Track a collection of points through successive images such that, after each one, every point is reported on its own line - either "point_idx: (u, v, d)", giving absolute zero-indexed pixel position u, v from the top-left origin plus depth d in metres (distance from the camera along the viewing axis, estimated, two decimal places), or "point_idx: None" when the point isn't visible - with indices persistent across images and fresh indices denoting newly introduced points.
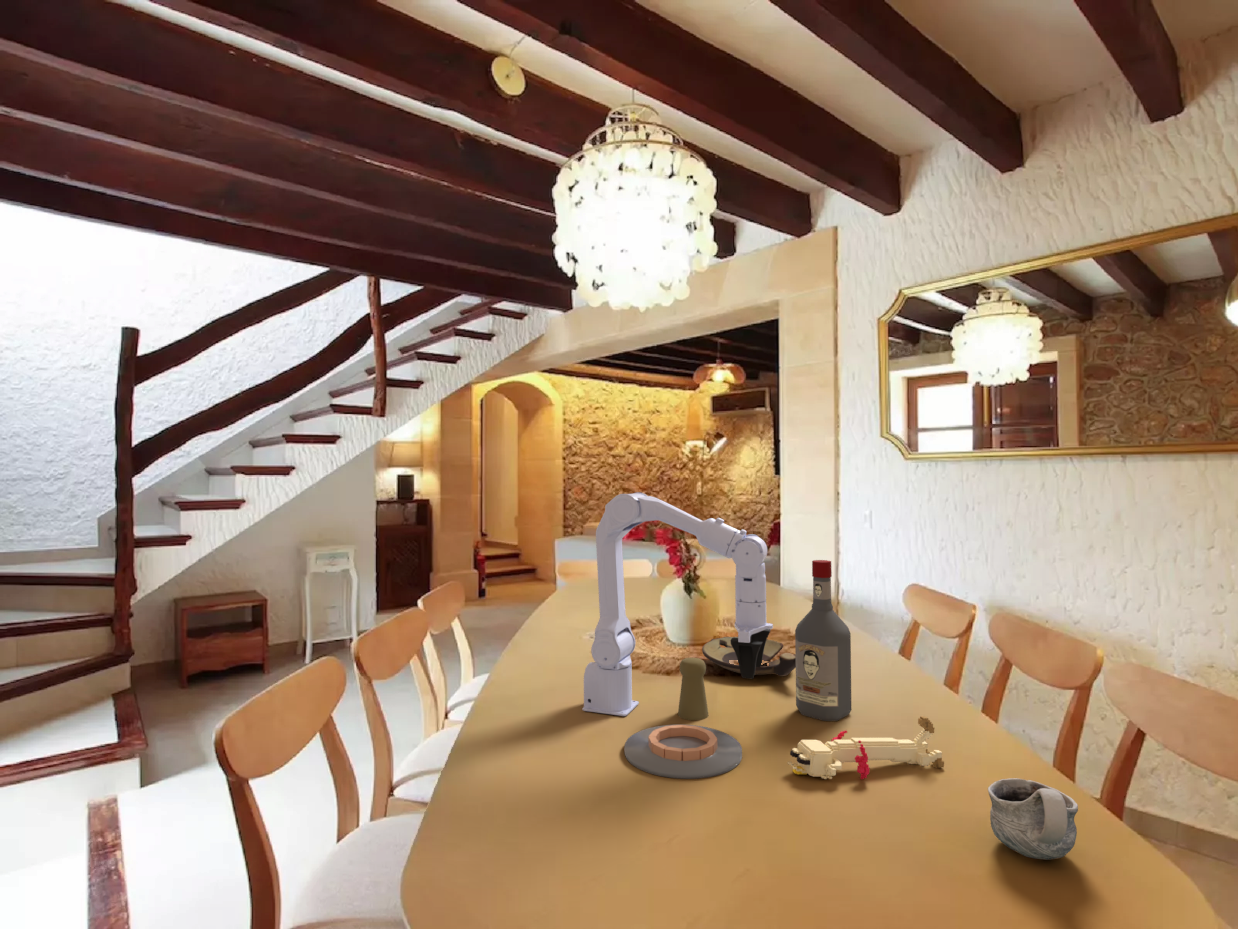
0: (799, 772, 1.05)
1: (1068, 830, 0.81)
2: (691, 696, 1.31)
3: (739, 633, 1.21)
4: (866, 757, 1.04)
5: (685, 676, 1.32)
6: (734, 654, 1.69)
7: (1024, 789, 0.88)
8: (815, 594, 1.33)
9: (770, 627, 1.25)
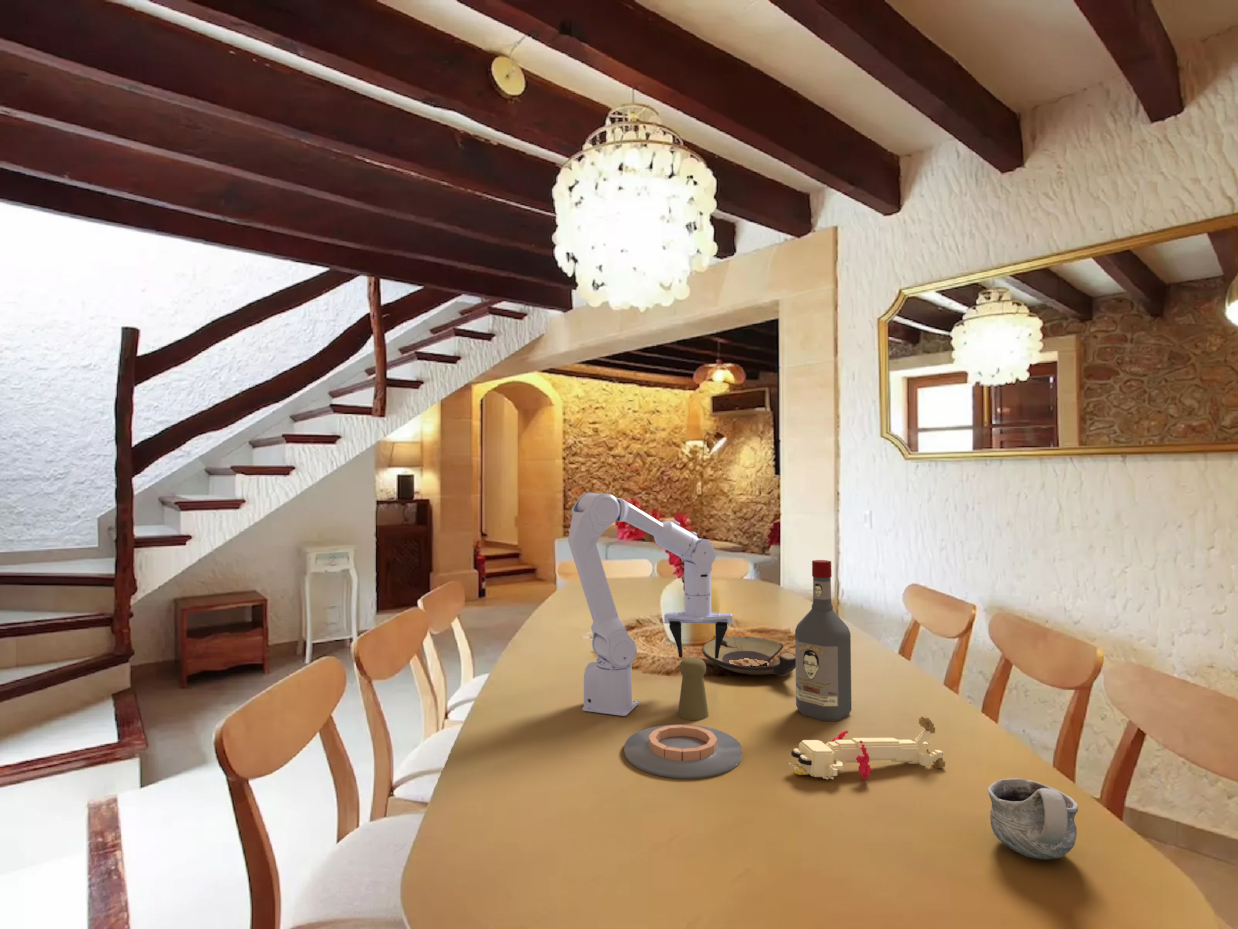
0: (800, 772, 1.05)
1: (1068, 830, 0.81)
2: (691, 695, 1.31)
3: None
4: (867, 757, 1.04)
5: (685, 676, 1.32)
6: (734, 654, 1.69)
7: (1024, 789, 0.88)
8: (815, 594, 1.33)
9: (693, 619, 1.41)
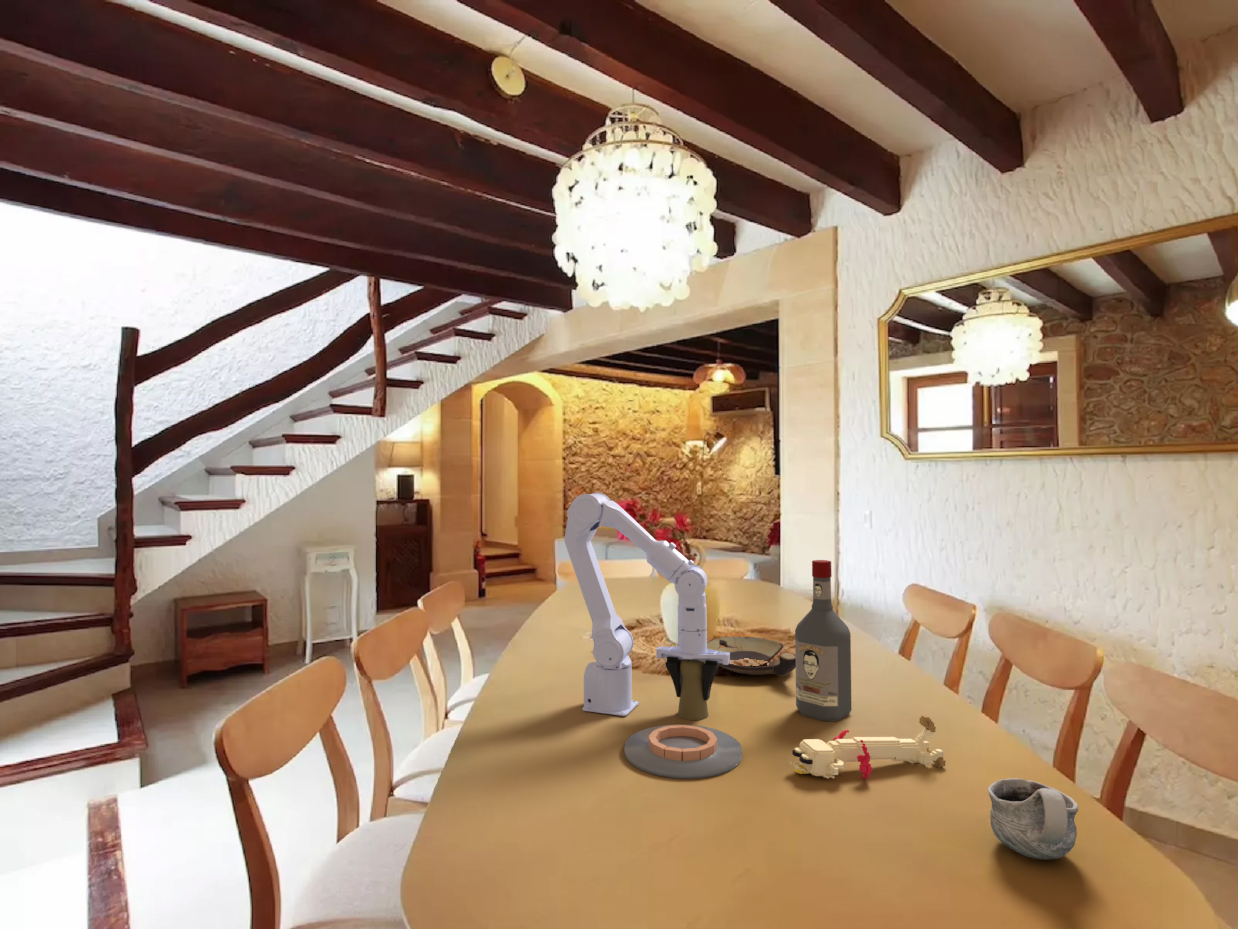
0: (801, 771, 1.06)
1: (1068, 830, 0.81)
2: (691, 695, 1.31)
3: None
4: (868, 756, 1.04)
5: (685, 676, 1.32)
6: (734, 654, 1.69)
7: (1024, 789, 0.88)
8: (815, 594, 1.33)
9: (682, 656, 1.30)
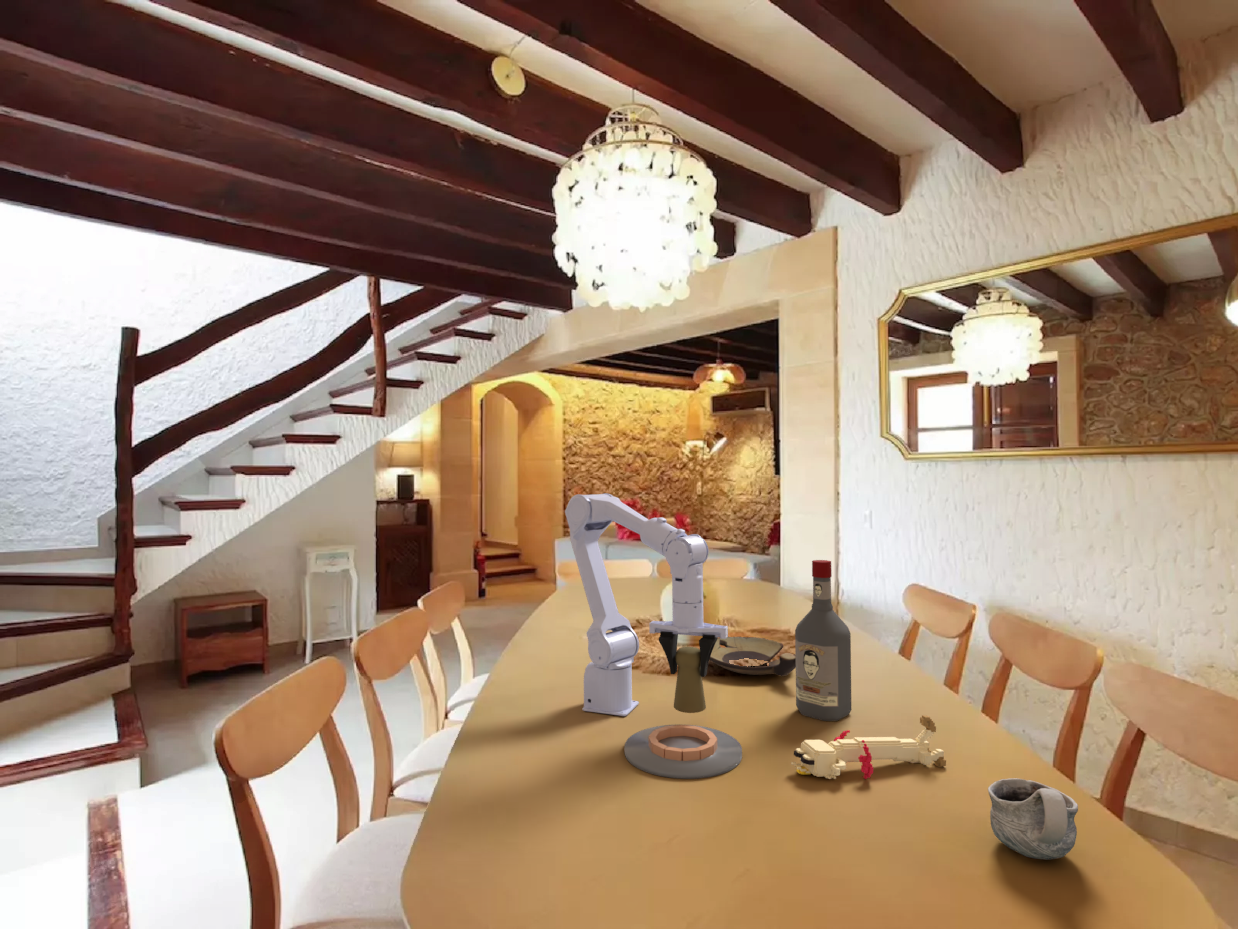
0: (803, 772, 1.05)
1: (1068, 830, 0.81)
2: (688, 687, 1.23)
3: None
4: (870, 757, 1.04)
5: (681, 667, 1.24)
6: (734, 654, 1.69)
7: (1024, 789, 0.88)
8: (815, 594, 1.33)
9: (677, 630, 1.22)
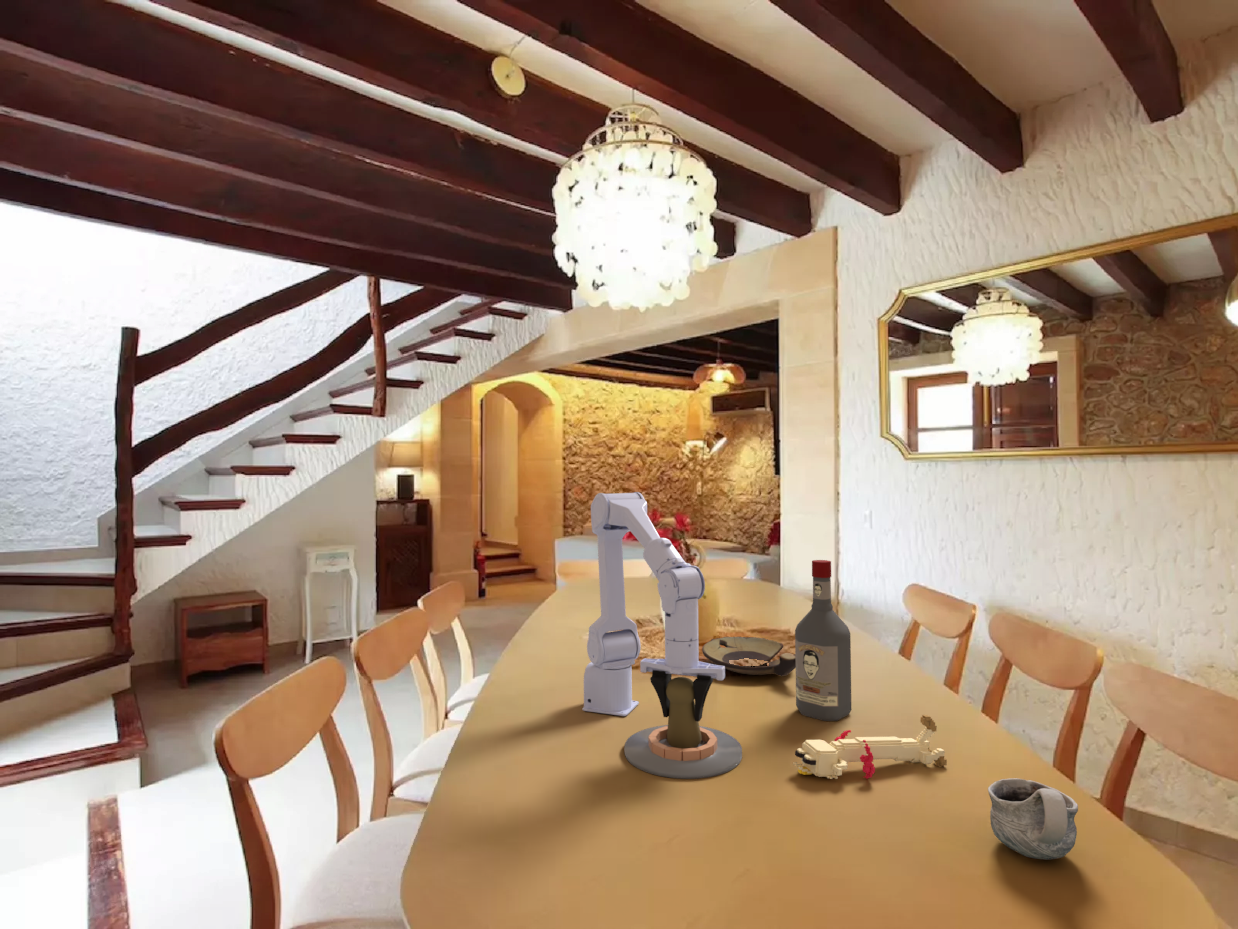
0: (804, 772, 1.05)
1: (1068, 830, 0.81)
2: (681, 724, 1.13)
3: None
4: (871, 756, 1.04)
5: (673, 703, 1.14)
6: (734, 654, 1.69)
7: (1024, 789, 0.88)
8: (815, 594, 1.33)
9: (670, 670, 1.12)
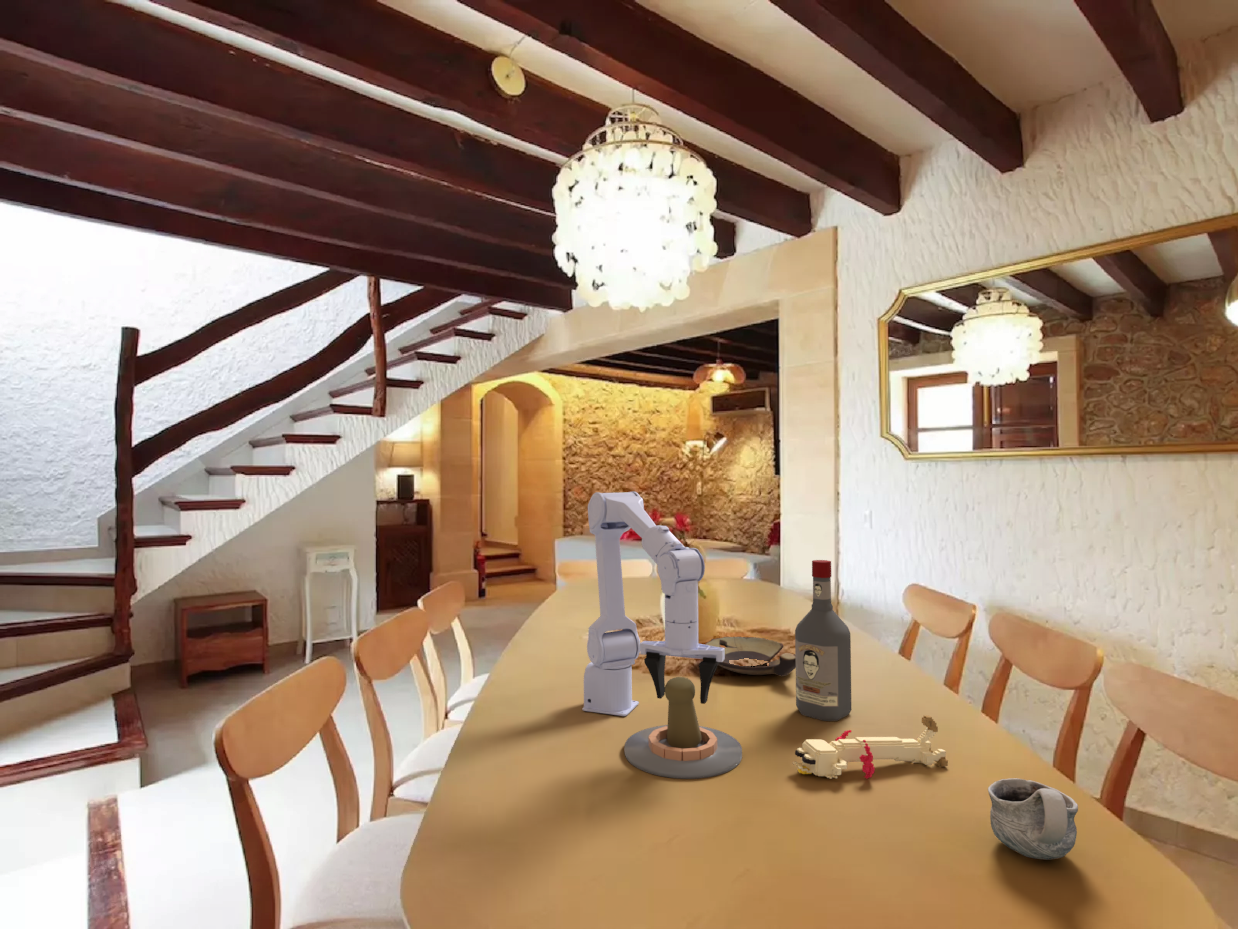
0: (804, 772, 1.06)
1: (1068, 830, 0.81)
2: (680, 723, 1.14)
3: None
4: (871, 756, 1.04)
5: (671, 703, 1.14)
6: (734, 654, 1.69)
7: (1024, 789, 0.88)
8: (815, 594, 1.33)
9: (670, 652, 1.12)
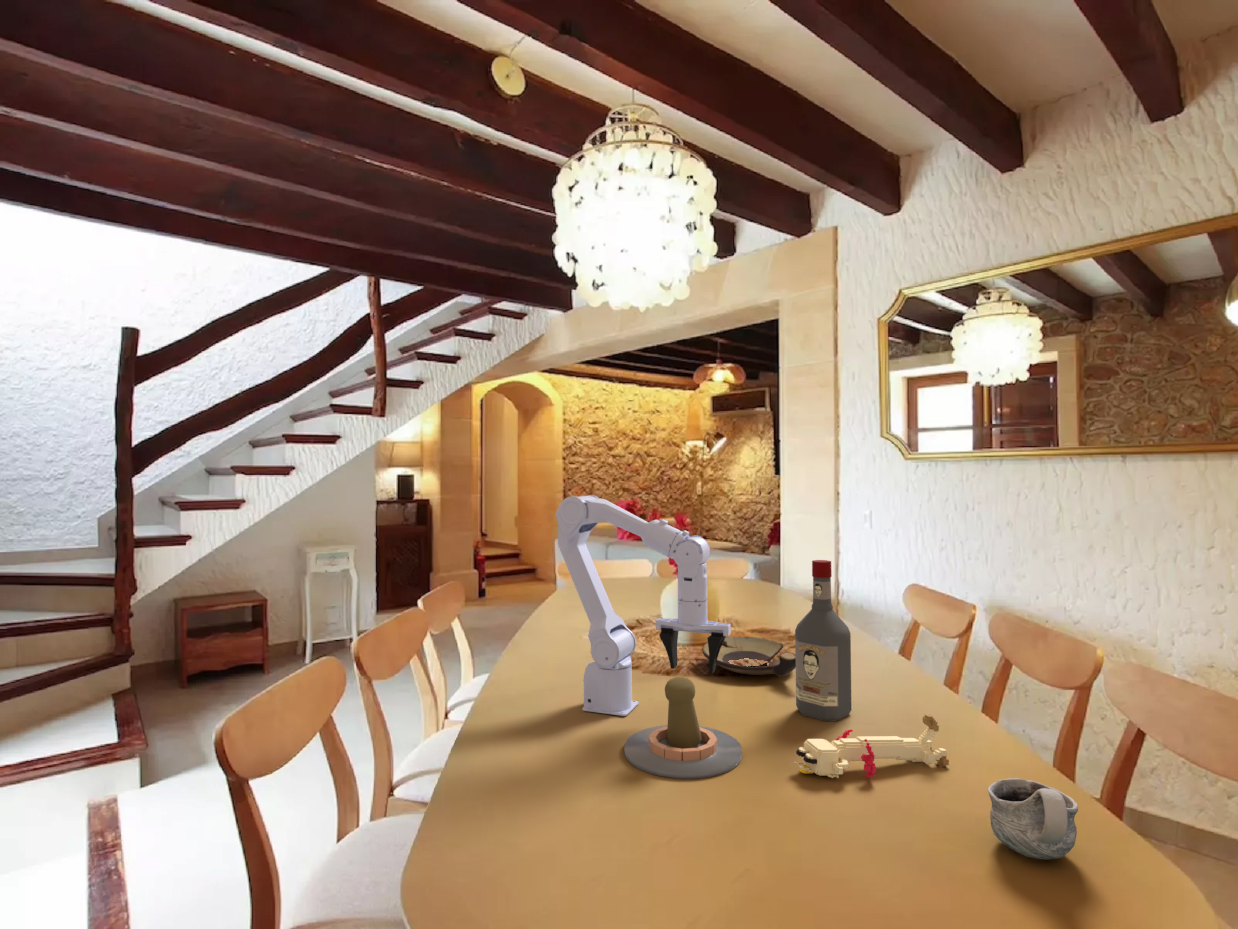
0: (806, 771, 1.06)
1: (1068, 830, 0.81)
2: (680, 723, 1.14)
3: None
4: (872, 756, 1.04)
5: (671, 703, 1.14)
6: (734, 654, 1.69)
7: (1024, 789, 0.88)
8: (815, 594, 1.33)
9: (682, 627, 1.27)
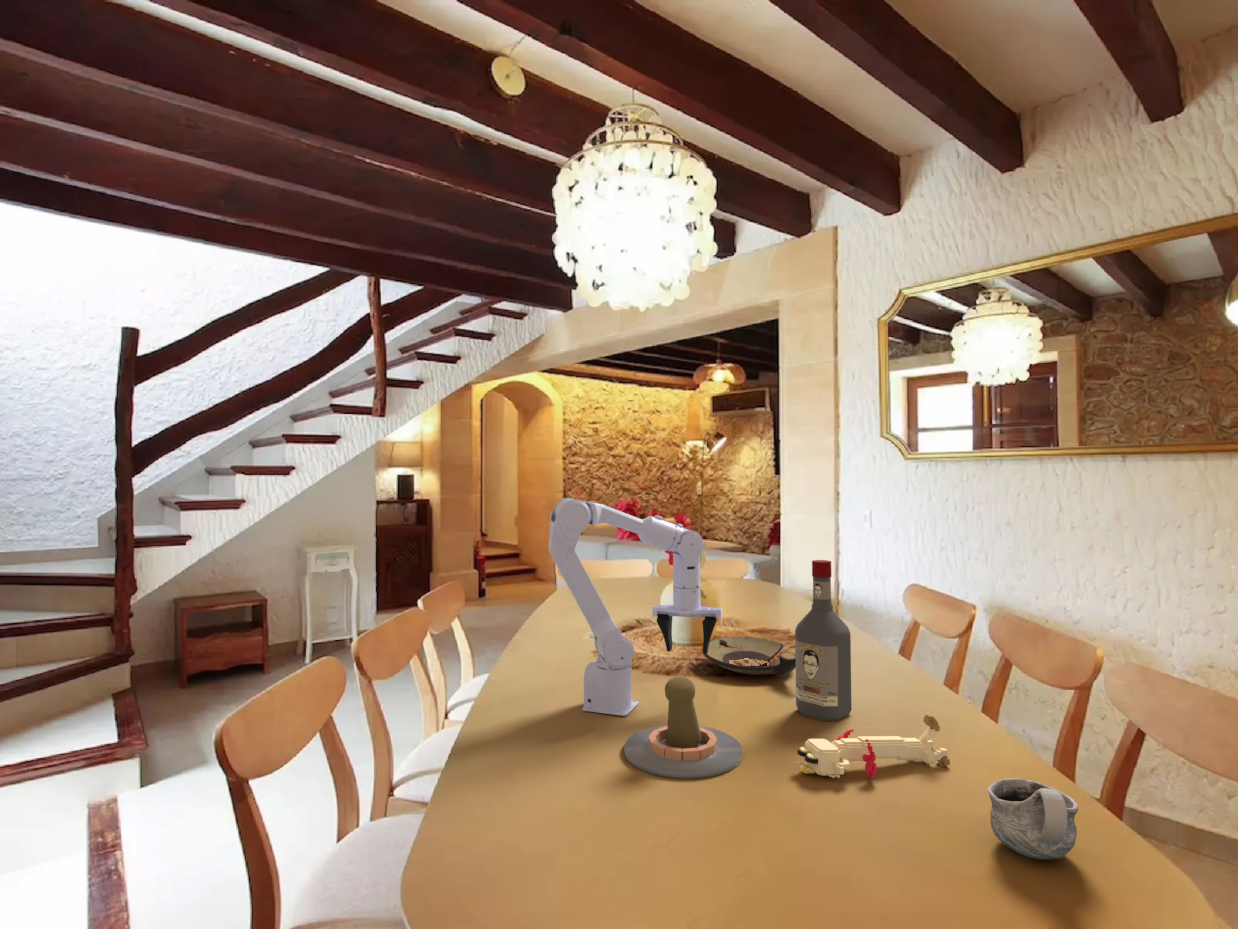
0: (807, 771, 1.06)
1: (1068, 830, 0.81)
2: (680, 723, 1.14)
3: None
4: (874, 755, 1.04)
5: (671, 703, 1.14)
6: (734, 654, 1.69)
7: (1024, 789, 0.88)
8: (815, 594, 1.33)
9: (678, 612, 1.38)
